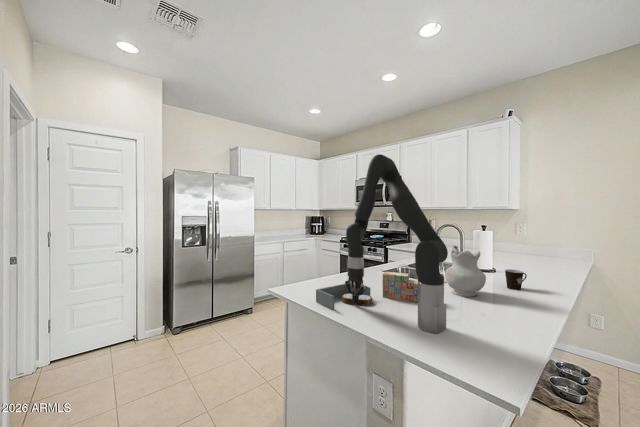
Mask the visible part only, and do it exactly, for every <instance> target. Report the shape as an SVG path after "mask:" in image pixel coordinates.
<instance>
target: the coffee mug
mask: <svg viewBox="0 0 640 427" xmlns="http://www.w3.org/2000/svg"><path fill="white" fill-rule="evenodd" d="M504 272H505V282H506V288H507V289H508V290H512V291H513V290H514V291H520V290H522V284H523V282H524V281H525V280H526V278H527V274H526V272H524V271H522V270H519V269H510V268H509V269H504ZM523 277H524V278H523Z"/></svg>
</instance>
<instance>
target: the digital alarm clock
mask: <svg viewBox="0 0 640 427" xmlns="http://www.w3.org/2000/svg"><path fill="white" fill-rule="evenodd" d="M341 302H342V303H344V304H347V305H357V306H371V305H373V297H372V296H371V295H370V296H369V295H360V296H359V302H358V304H354V303H353V301H352V294H344V295H342V297H341Z"/></svg>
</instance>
